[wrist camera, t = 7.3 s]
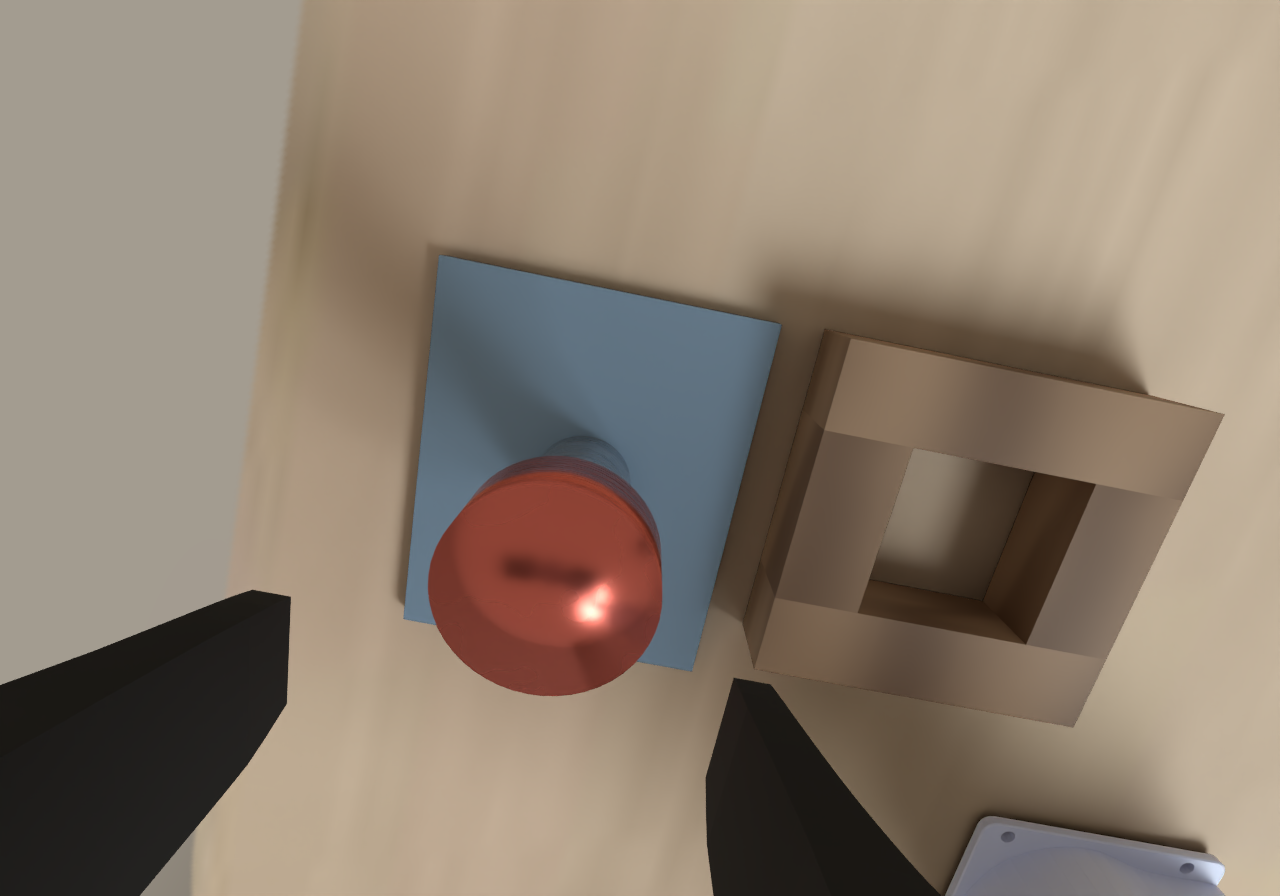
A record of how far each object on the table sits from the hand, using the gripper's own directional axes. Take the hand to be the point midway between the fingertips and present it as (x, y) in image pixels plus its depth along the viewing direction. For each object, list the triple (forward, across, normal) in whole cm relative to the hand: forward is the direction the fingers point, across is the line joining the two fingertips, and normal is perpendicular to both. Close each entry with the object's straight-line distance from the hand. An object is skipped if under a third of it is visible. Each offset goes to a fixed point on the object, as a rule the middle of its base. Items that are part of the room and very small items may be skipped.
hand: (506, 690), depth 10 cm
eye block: (+10, -12, -1) cm, 15 cm away
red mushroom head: (+10, 0, 0) cm, 10 cm away
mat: (+10, 0, 0) cm, 10 cm away
